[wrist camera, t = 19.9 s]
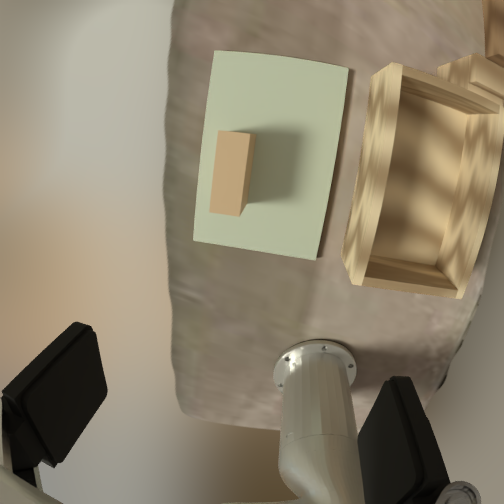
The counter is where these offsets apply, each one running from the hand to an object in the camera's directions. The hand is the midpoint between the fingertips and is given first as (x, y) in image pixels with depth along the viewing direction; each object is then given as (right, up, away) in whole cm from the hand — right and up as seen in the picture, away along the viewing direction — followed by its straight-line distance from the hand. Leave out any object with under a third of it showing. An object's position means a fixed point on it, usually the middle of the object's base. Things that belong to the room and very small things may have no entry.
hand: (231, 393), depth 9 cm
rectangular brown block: (+25, +26, +8) cm, 37 cm away
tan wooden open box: (+20, +15, +23) cm, 34 cm away
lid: (+2, +16, +26) cm, 30 cm away
